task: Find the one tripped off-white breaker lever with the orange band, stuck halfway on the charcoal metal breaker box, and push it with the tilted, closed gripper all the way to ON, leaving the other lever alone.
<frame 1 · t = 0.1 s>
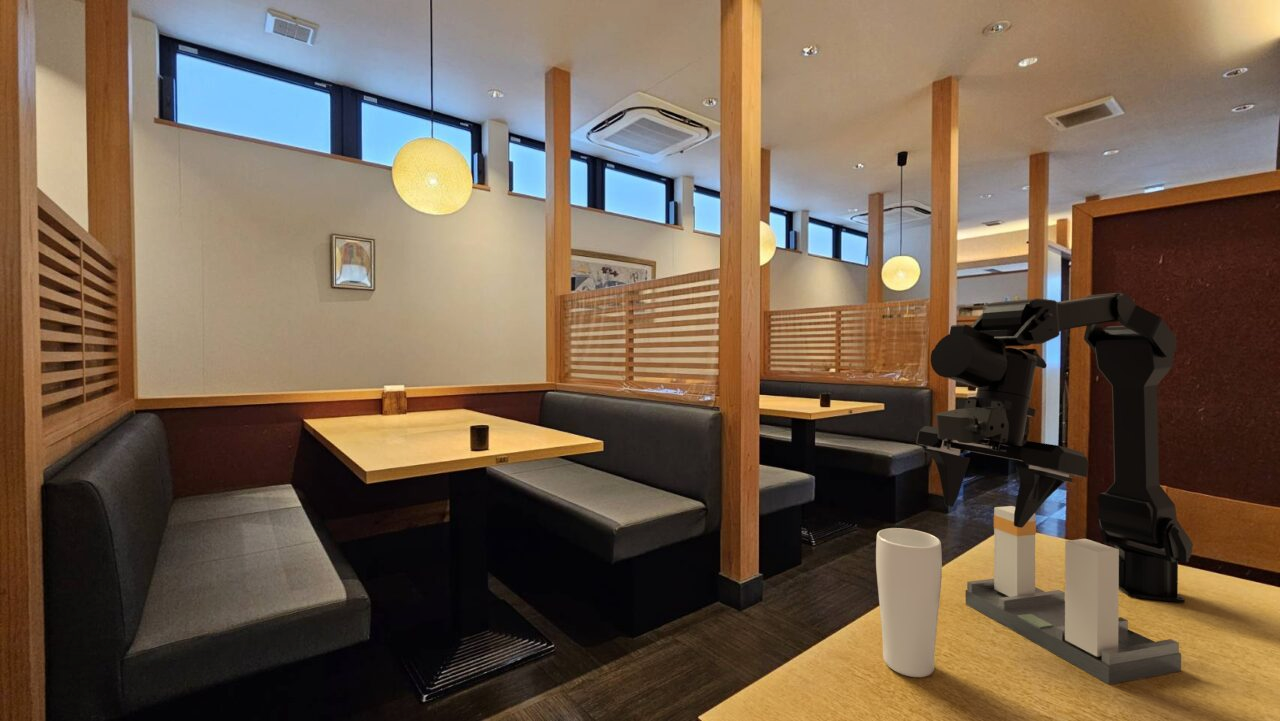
hand: (981, 515, 68), 15 cm above the table, tool pointing down, fingers open, 9 cm apart
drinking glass: (908, 667, 62), on the table
tripped lever: (1014, 551, 75), point 8 cm above the table, slide at 3.5 cm
breaker box: (1060, 633, 69), on the table
on lever: (1091, 595, 62), point 8 cm above the table, slide at 7.0 cm
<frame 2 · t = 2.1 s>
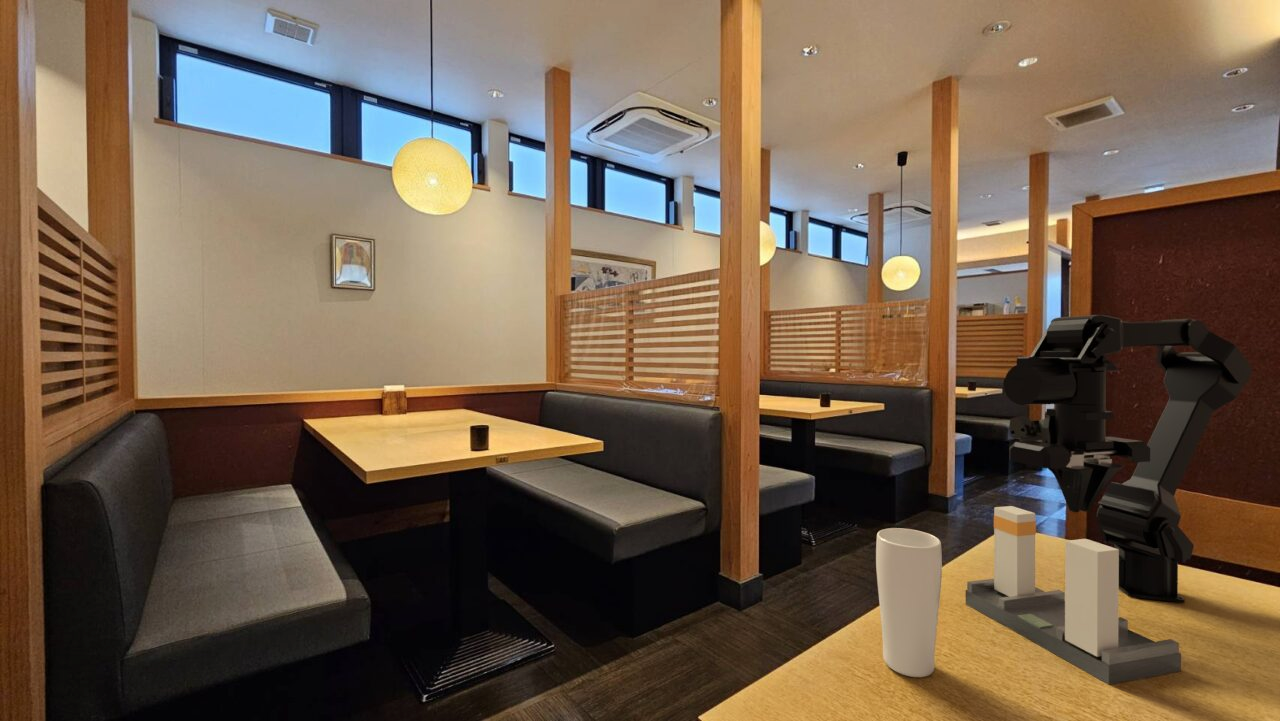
hand: (1078, 511, 77), 13 cm above the table, tool pointing down, fingers closed
nothing on the table moved.
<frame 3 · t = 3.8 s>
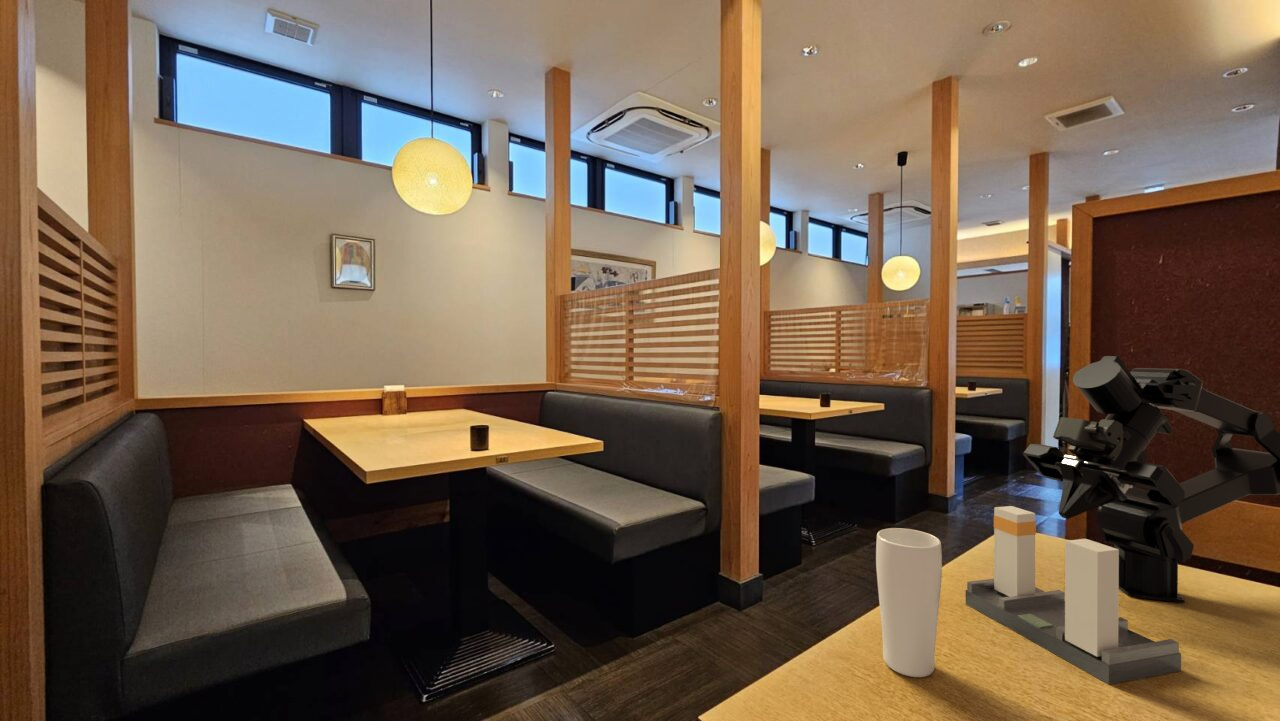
hand: (1062, 516, 77), 13 cm above the table, tool tilted 45°, fingers closed
nothing on the table moved.
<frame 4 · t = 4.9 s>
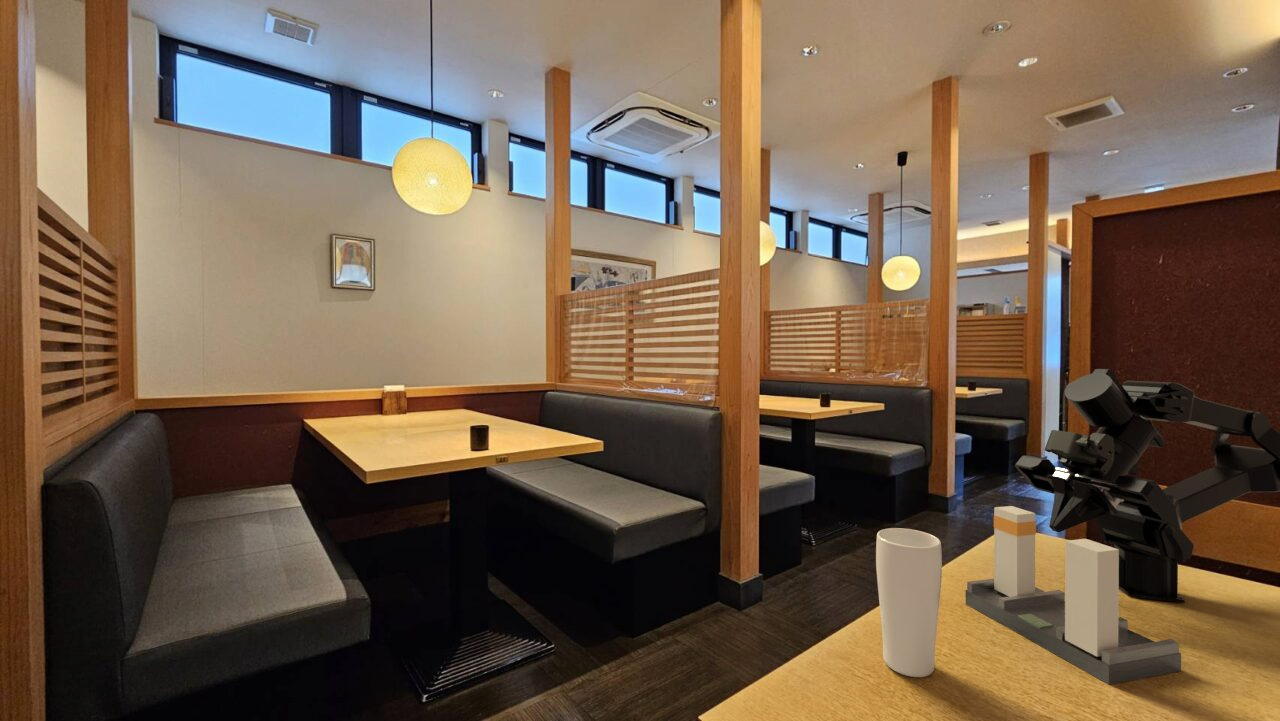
hand: (1053, 529, 76), 11 cm above the table, tool tilted 45°, fingers closed
nothing on the table moved.
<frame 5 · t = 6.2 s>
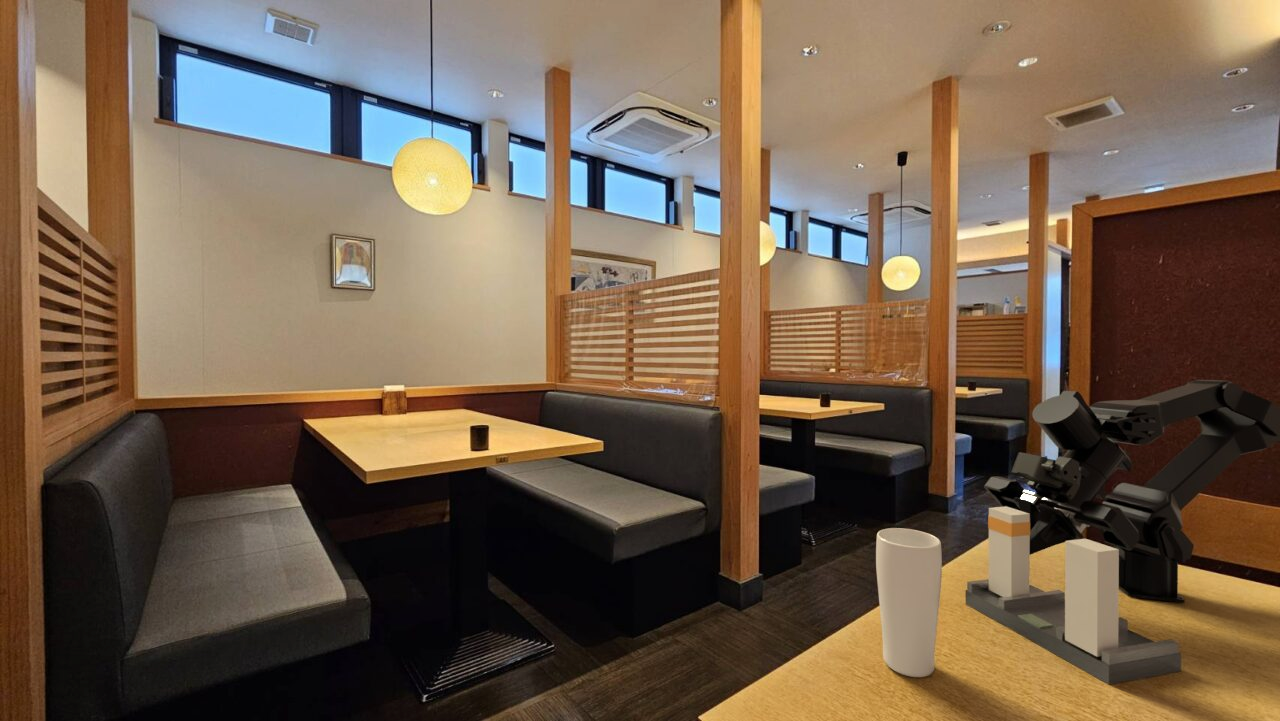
hand: (1019, 554, 75), 8 cm above the table, tool tilted 45°, fingers closed, pressing on tripped lever
tripped lever: (1008, 552, 75), point 8 cm above the table, slide at 4.5 cm, touching gripper
everything else where it was.
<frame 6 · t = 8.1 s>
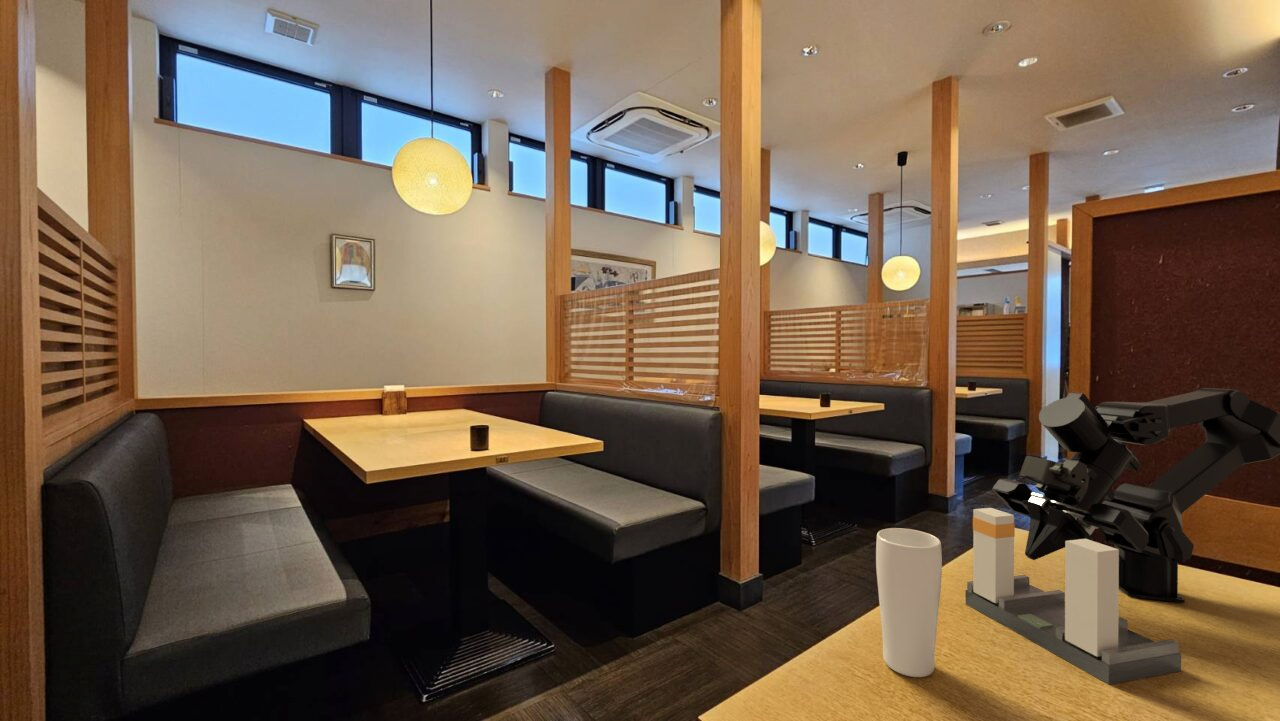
hand: (1029, 557, 76), 7 cm above the table, tool tilted 45°, fingers closed
tripped lever: (993, 554, 74), point 8 cm above the table, slide at 7.0 cm
everything else where it was.
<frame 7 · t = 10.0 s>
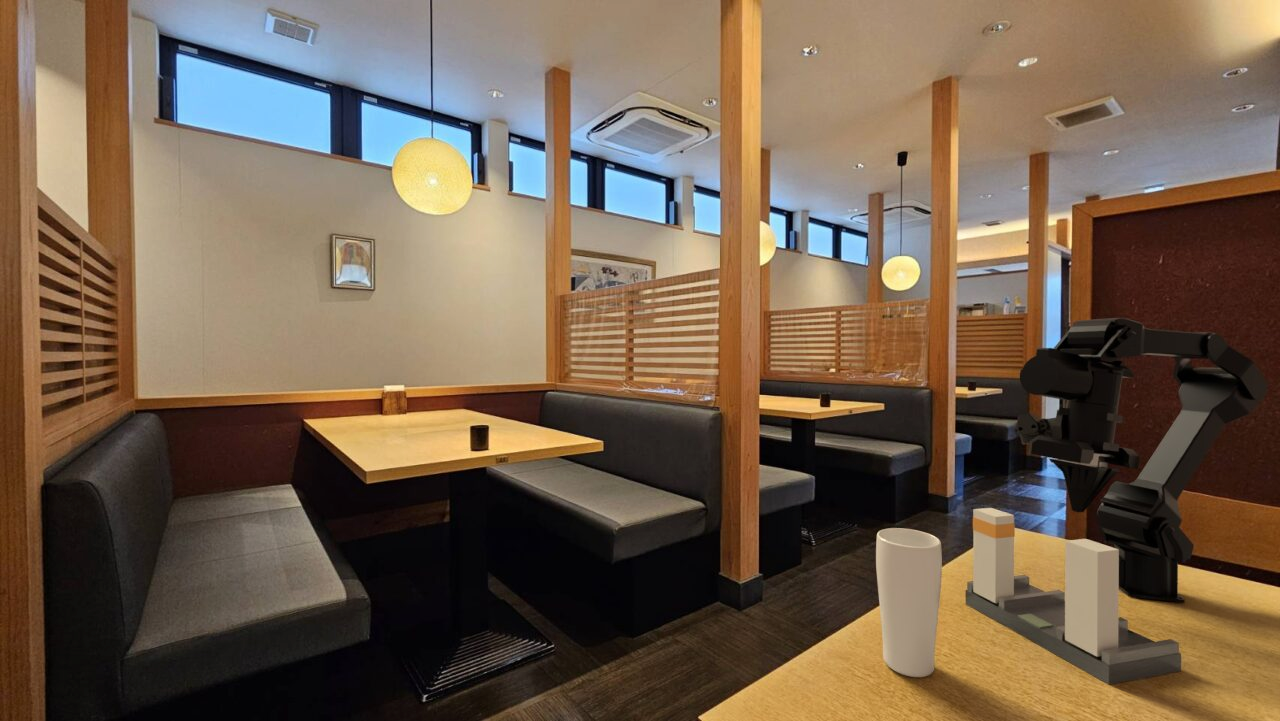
hand: (1077, 511, 77), 13 cm above the table, tool pointing down, fingers closed
nothing on the table moved.
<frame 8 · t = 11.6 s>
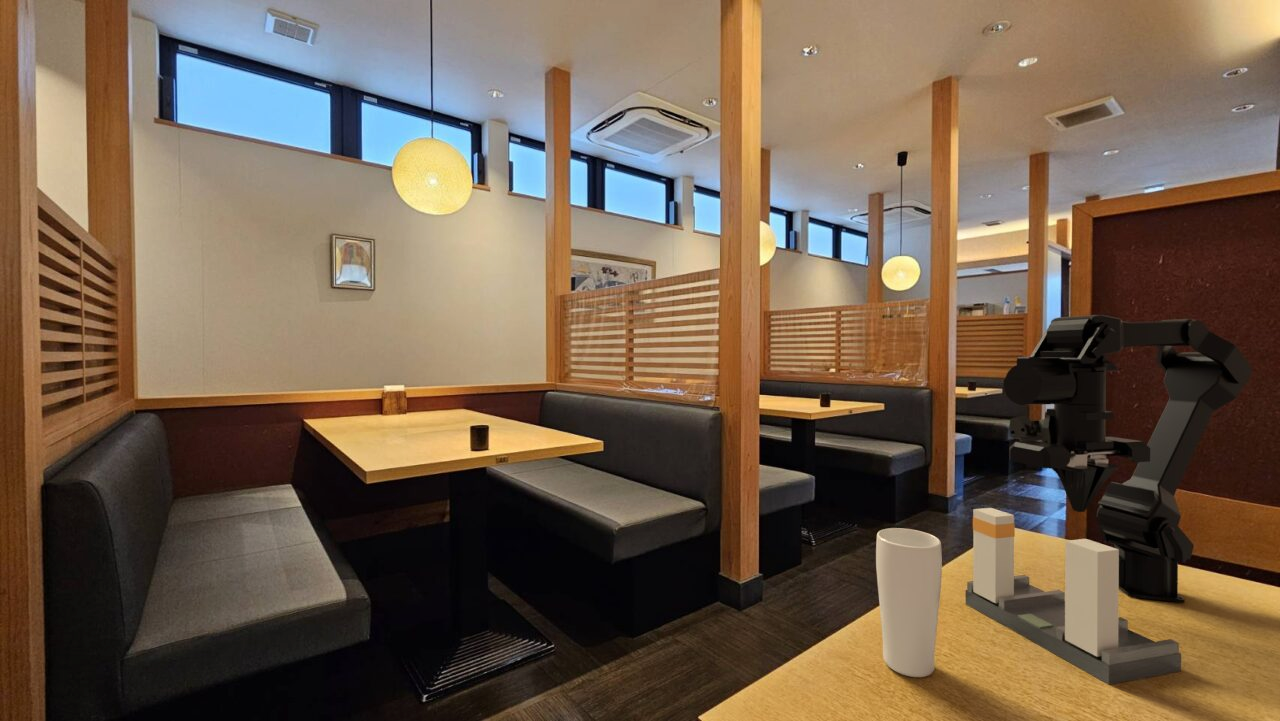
hand: (1078, 511, 77), 13 cm above the table, tool pointing down, fingers closed
nothing on the table moved.
at the end: tripped lever slide at 7.0 cm; on lever slide at 7.0 cm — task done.
